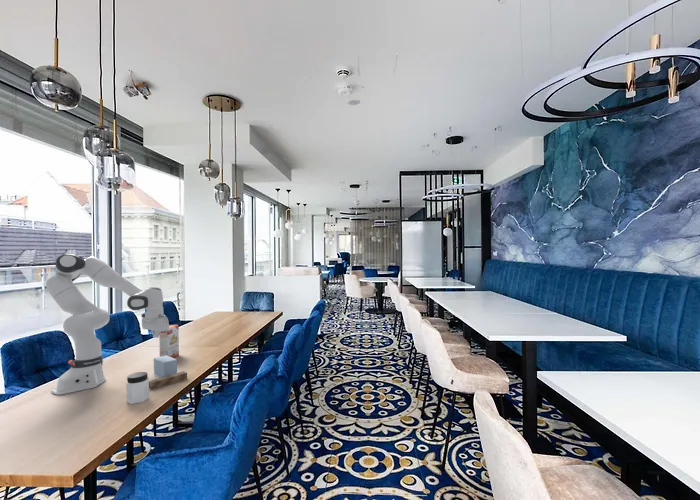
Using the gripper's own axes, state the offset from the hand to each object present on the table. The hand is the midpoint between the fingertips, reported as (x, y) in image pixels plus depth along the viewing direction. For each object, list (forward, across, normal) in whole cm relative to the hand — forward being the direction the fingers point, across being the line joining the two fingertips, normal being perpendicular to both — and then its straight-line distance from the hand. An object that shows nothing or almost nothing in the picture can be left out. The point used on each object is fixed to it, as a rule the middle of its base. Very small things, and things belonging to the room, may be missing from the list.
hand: (156, 337), depth 205 cm
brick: (+20, -12, +3) cm, 23 cm away
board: (+20, -26, +12) cm, 35 cm away
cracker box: (+20, +14, -18) cm, 30 cm away
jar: (+20, -32, +32) cm, 49 cm away
